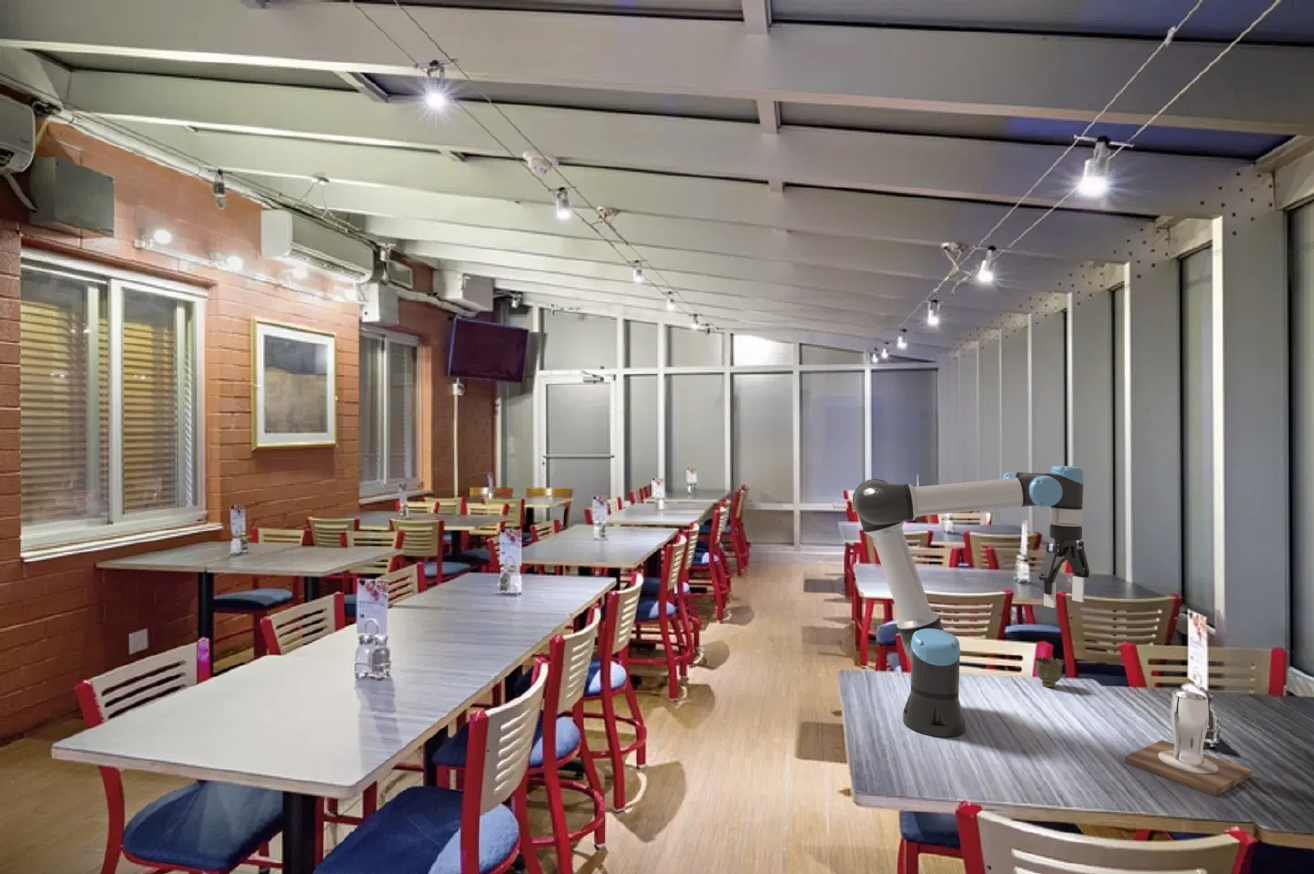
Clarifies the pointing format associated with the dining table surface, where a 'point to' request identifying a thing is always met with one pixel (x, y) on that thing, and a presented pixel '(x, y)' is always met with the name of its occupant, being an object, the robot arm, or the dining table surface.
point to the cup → (1049, 670)
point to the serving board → (1189, 769)
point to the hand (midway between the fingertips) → (1063, 603)
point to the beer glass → (1189, 727)
